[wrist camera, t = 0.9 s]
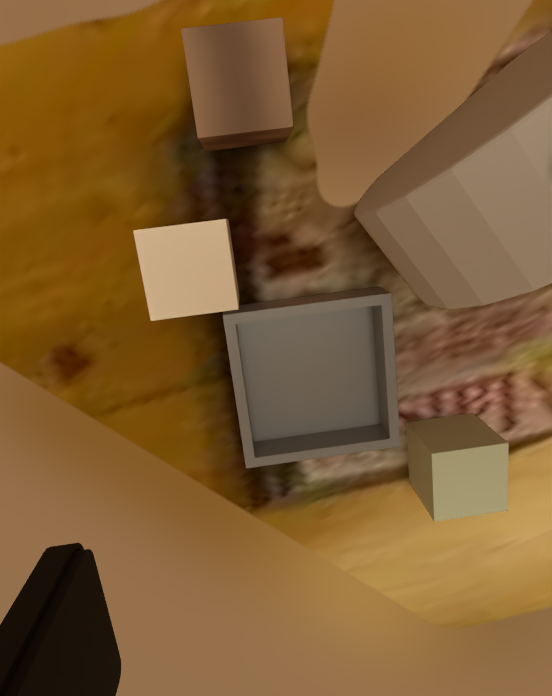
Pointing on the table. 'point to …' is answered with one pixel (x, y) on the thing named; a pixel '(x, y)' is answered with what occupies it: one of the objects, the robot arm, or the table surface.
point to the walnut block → (239, 83)
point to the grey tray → (314, 375)
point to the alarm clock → (474, 194)
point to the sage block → (458, 466)
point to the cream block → (188, 269)
